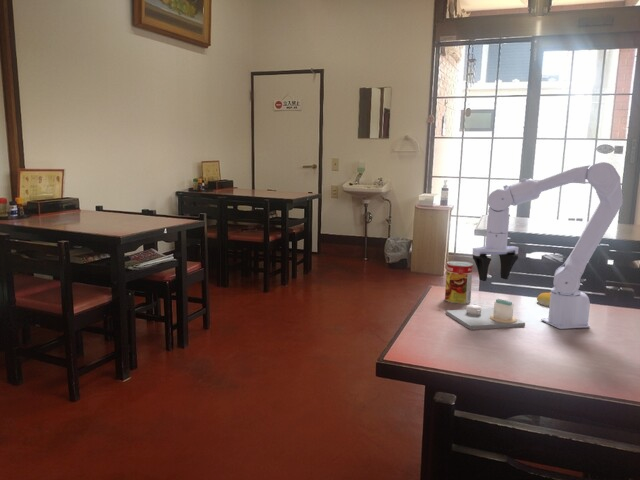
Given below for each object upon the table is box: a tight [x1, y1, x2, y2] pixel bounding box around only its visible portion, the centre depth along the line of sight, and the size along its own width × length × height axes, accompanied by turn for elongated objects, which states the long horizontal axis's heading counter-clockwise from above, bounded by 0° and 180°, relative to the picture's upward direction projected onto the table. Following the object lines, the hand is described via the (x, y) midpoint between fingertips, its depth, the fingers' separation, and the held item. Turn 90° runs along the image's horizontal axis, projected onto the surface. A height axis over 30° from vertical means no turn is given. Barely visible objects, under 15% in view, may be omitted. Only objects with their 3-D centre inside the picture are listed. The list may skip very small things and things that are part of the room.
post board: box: [445, 304, 526, 330], centre depth 137 cm, size 16×14×3 cm
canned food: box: [444, 260, 474, 305], centre depth 156 cm, size 8×8×12 cm
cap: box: [493, 298, 515, 321], centre depth 135 cm, size 5×5×5 cm
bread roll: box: [536, 291, 551, 307], centre depth 154 cm, size 8×9×4 cm
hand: (493, 279), depth 141 cm, fingers open, 7 cm apart
